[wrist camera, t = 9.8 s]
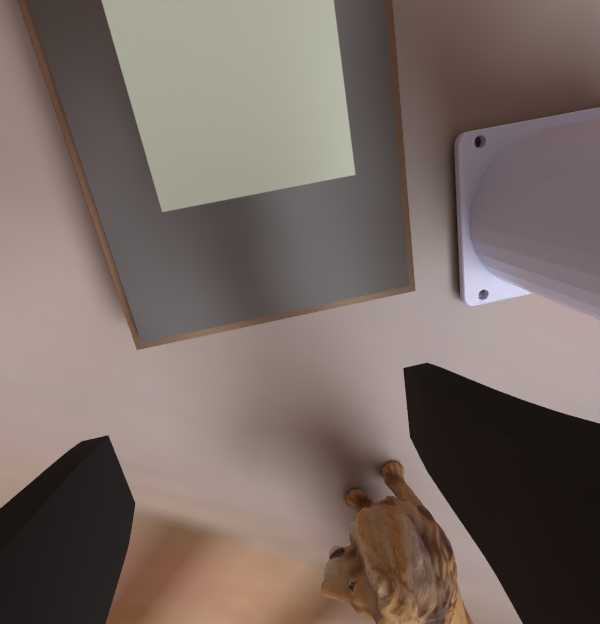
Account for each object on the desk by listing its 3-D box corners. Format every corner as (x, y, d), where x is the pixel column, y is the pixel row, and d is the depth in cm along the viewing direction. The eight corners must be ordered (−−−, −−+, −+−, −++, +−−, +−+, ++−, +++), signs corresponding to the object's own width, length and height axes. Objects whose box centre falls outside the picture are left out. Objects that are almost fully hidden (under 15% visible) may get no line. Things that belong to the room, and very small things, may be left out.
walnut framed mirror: (356, -157, 14) (379, -222, 12) (397, 278, 20) (419, 293, 17) (3, -113, 13) (-48, -174, 11) (147, 331, 19) (134, 354, 16)
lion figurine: (287, 466, 22) (317, 643, 14) (369, 413, 22) (451, 561, 14) (409, 607, 27) (485, 800, 19) (477, 565, 27) (586, 743, 19)
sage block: (295, 17, 14) (325, -65, 9) (319, 174, 15) (355, 174, 11) (144, 42, 13) (93, -30, 9) (186, 200, 15) (162, 212, 10)
